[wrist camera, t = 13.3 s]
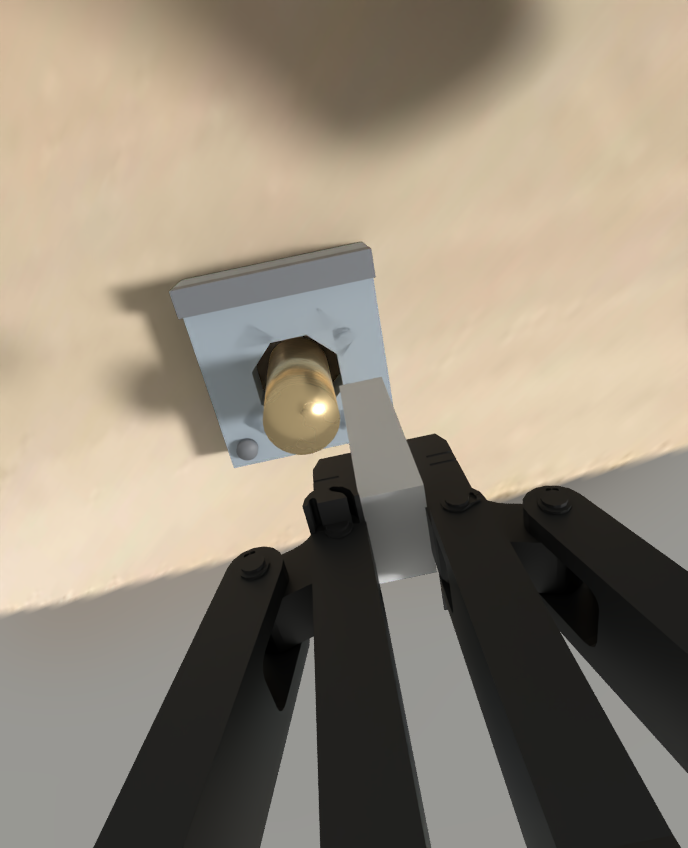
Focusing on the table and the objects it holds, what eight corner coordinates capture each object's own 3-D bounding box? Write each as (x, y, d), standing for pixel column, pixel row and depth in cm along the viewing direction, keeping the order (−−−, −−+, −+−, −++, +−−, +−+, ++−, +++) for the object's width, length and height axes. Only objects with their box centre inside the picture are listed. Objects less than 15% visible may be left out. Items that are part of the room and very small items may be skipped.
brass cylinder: (261, 344, 37) (253, 394, 28) (320, 331, 37) (331, 377, 28) (276, 398, 39) (273, 461, 30) (333, 386, 39) (346, 445, 30)
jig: (181, 279, 34) (168, 291, 31) (362, 241, 35) (371, 248, 31) (237, 449, 41) (232, 476, 37) (390, 416, 41) (400, 439, 37)
